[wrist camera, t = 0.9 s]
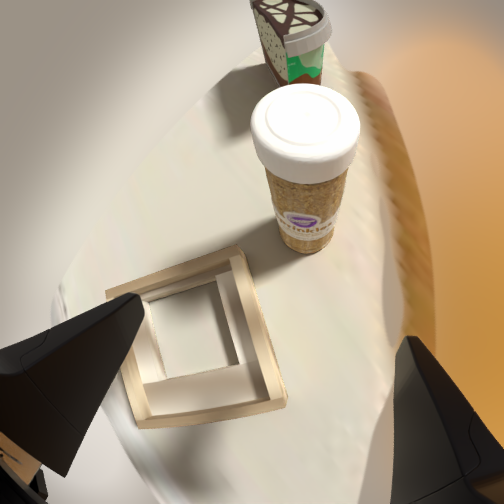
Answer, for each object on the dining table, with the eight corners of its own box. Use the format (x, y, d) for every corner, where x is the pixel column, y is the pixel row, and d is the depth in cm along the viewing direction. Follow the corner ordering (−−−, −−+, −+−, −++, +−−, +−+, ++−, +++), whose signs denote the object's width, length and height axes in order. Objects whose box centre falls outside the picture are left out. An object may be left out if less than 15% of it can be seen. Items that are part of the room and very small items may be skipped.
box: (287, 397, 20) (285, 407, 17) (155, 420, 21) (138, 429, 18) (245, 254, 23) (236, 244, 20) (124, 295, 24) (105, 290, 21)
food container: (349, 106, 25) (357, 29, 16) (295, 118, 26) (285, 38, 16) (307, 48, 29) (301, -14, 19) (262, 57, 30) (247, -6, 20)
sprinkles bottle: (281, 257, 23) (250, 167, 10) (277, 205, 24) (245, 86, 11) (338, 251, 22) (375, 155, 9) (330, 199, 23) (345, 76, 10)
